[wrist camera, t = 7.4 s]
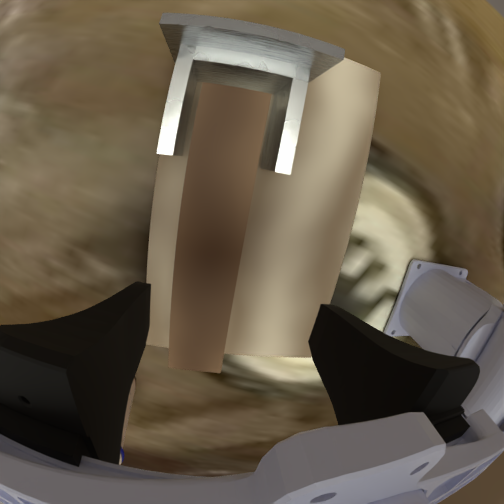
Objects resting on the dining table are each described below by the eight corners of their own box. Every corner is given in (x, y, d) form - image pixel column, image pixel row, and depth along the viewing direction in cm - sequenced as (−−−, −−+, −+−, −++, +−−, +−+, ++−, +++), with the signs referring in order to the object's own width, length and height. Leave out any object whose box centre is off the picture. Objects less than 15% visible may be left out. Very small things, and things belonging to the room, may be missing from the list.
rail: (259, 106, 16) (271, 94, 13) (218, 338, 22) (220, 372, 18) (204, 97, 16) (202, 82, 12) (173, 333, 21) (168, 367, 17)
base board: (374, 75, 17) (380, 72, 16) (307, 350, 24) (310, 357, 23) (191, 28, 15) (190, 22, 14) (147, 337, 22) (145, 344, 21)
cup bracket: (299, 82, 16) (345, 49, 10) (282, 172, 18) (321, 182, 12) (179, 60, 15) (163, 12, 8) (159, 153, 17) (128, 151, 10)
